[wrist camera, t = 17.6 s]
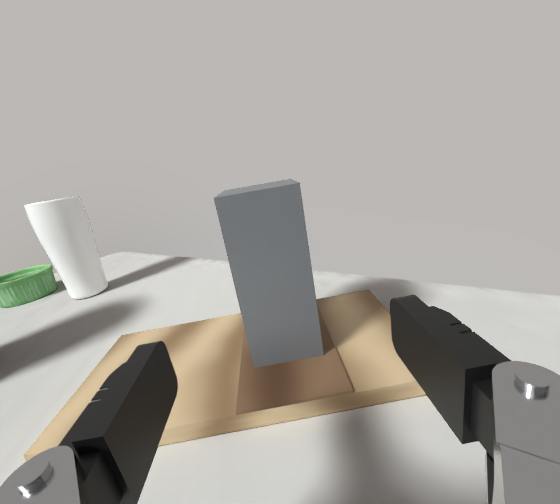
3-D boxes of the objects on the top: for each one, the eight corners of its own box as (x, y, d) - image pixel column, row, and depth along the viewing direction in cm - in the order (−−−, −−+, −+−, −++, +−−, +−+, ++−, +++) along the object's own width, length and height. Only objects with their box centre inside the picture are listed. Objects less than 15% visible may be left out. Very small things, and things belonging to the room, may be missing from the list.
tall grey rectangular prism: (311, 317, 25) (290, 178, 21) (324, 355, 20) (299, 182, 16) (255, 327, 24) (224, 190, 21) (254, 368, 20) (213, 198, 16)
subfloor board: (369, 300, 28) (368, 287, 28) (443, 391, 17) (444, 372, 16) (125, 345, 28) (120, 333, 27) (32, 470, 16) (21, 453, 16)
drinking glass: (115, 280, 49) (83, 195, 45) (112, 292, 43) (74, 196, 39) (70, 292, 46) (32, 203, 42) (60, 308, 41) (14, 206, 36)
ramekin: (69, 288, 49) (59, 265, 48) (3, 314, 42) (-11, 288, 41) (51, 283, 54) (41, 262, 53) (-11, 306, 47) (-24, 282, 46)
